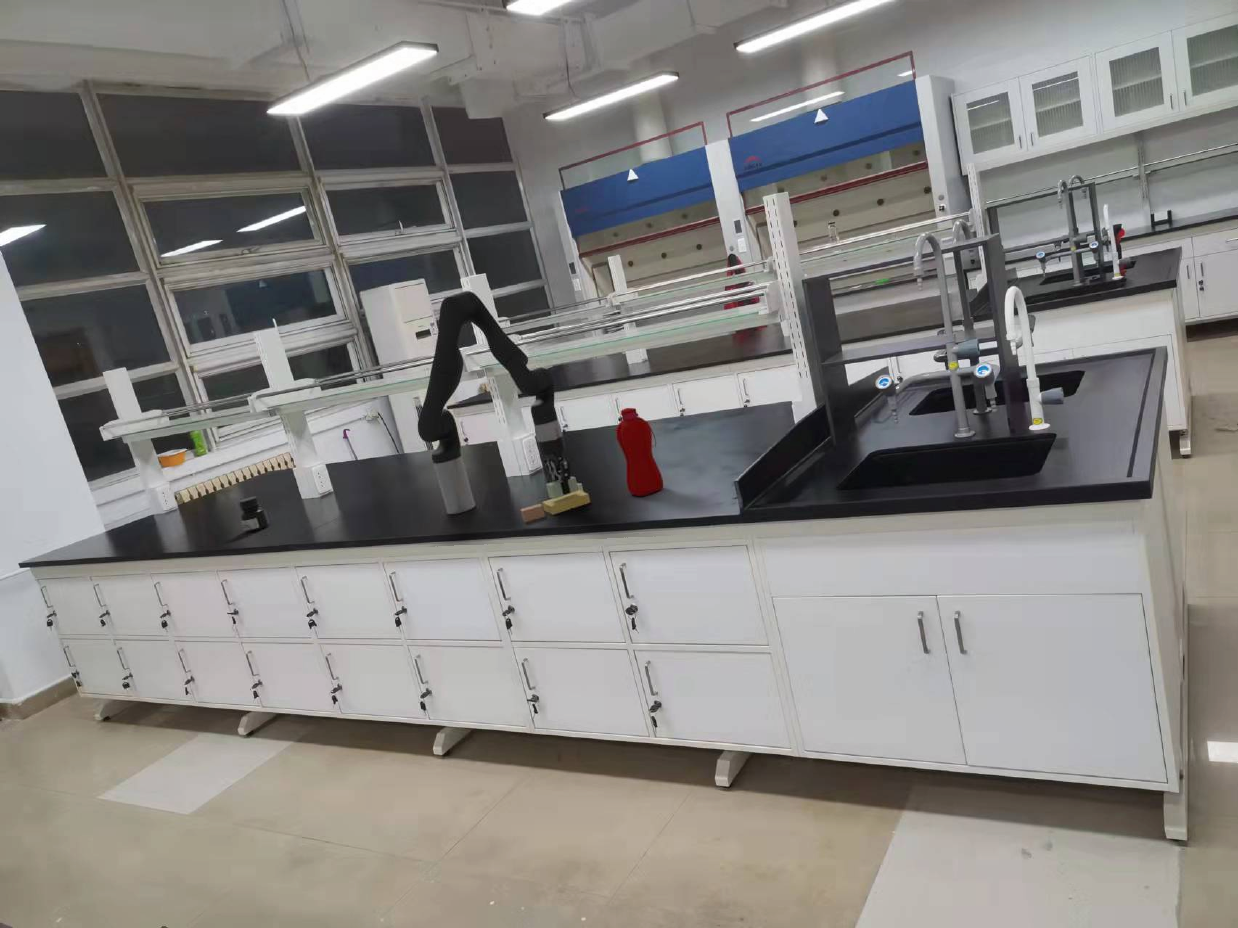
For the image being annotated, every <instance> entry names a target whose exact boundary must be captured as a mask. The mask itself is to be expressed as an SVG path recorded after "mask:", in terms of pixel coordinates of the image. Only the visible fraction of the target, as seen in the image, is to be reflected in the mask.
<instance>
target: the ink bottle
mask: <svg viewBox="0 0 1238 928" xmlns="http://www.w3.org/2000/svg"><path fill="white" fill-rule="evenodd" d="M238 506H239V508H240V511H241V515H240V521H241V524H242V527H243V530H244V532H245V533H247V532H249V533H254V531H255V532H258V531H261V530H263V529H262V528H264V529H266V528H268V527H269V526H270V523H269V522H270V521H269V519H268V516H267V512H266V510H265V509H264V508H263V507H261V504H260V502H259V498H258V496H257V495H256V496H250V497H246V498H242V499H241V500H239V501H238ZM268 525H269V526H268ZM267 526H268V527H267ZM265 527H266V528H265ZM257 530H258V531H257Z"/></svg>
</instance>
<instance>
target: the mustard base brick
mask: <svg viewBox="0 0 1238 928" xmlns="http://www.w3.org/2000/svg"><path fill="white" fill-rule="evenodd" d="M583 491H584V490H583ZM583 491H581V490H578V491H576V492H573V493H570V494H567V495H564V496H562V497H559V498H556V499H553V498H551V499H547V500H544V501H542V503H541V504H542V507H543V511H545V512H547V513H548V514H551V515H556V514H560V513H562V512H565V511H568V510H571V508H572V509H574V508H578V507H581V506H583V505H587V504H589V503H591V499H590V495H589V493H587V492H585V491H584V492H583Z"/></svg>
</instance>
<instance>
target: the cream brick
mask: <svg viewBox="0 0 1238 928" xmlns="http://www.w3.org/2000/svg"><path fill="white" fill-rule="evenodd" d="M577 485H578V489H579V490H581V491H583V492H585V490H584V489H583V483H579V482H577Z"/></svg>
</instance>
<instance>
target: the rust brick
mask: <svg viewBox="0 0 1238 928" xmlns="http://www.w3.org/2000/svg"><path fill="white" fill-rule="evenodd" d="M544 511H545V510H544V507H543V504H542V503H538V504H534V505H530V506H526V507H523V508H521V509H520V512H521V515H522V520H523V523H528V522H531V521H534V519H535V520H538V519H542V518H544V517H545V512H544Z"/></svg>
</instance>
